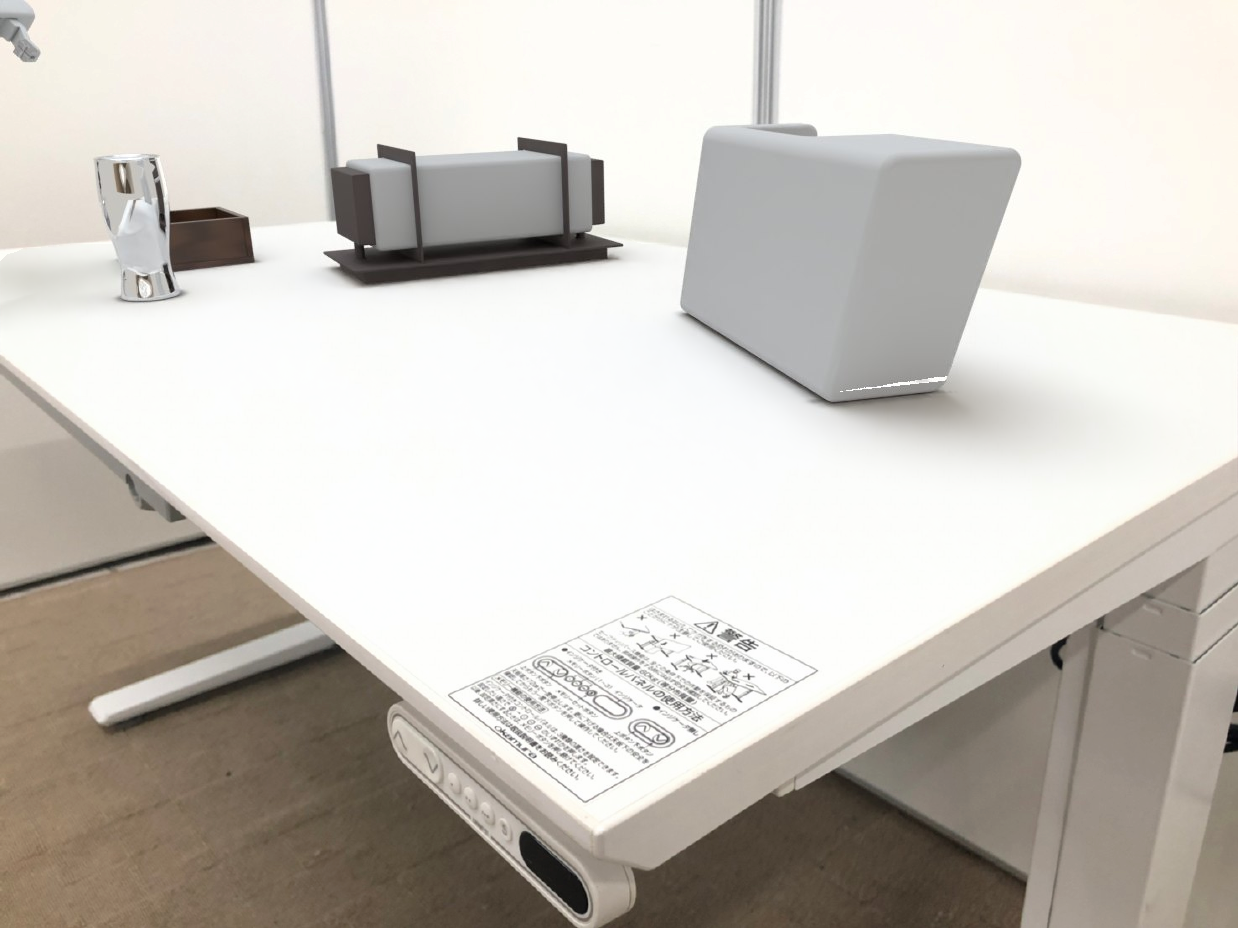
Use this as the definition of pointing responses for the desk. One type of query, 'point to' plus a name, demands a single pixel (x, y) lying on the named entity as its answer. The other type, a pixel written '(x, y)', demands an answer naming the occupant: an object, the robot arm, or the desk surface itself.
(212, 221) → the crate
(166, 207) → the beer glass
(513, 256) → the light fixture
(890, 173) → the grey tapered block
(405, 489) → the desk surface
